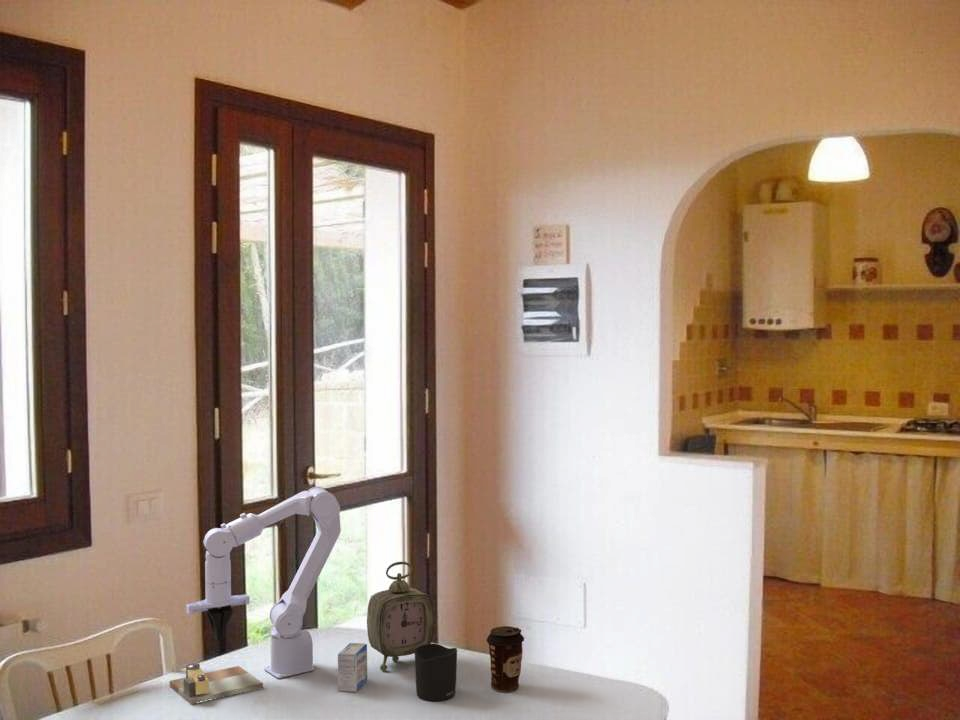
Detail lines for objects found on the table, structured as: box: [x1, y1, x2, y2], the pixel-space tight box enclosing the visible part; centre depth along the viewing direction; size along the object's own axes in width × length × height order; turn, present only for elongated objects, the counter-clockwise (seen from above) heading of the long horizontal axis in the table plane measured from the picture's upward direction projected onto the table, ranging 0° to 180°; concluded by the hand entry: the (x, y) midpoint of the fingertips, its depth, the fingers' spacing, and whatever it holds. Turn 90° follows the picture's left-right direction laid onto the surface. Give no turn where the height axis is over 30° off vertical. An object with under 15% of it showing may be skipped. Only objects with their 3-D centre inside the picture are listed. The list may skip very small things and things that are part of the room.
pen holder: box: [414, 643, 458, 702], centre depth 210 cm, size 9×9×10 cm
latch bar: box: [185, 662, 209, 695], centre depth 212 cm, size 12×3×4 cm, turn 28°
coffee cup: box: [486, 625, 525, 693], centre depth 214 cm, size 9×8×13 cm
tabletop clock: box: [366, 561, 435, 672], centre depth 230 cm, size 14×9×25 cm, turn 120°
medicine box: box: [337, 642, 368, 693], centre depth 216 cm, size 8×4×9 cm, turn 168°
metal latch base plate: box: [169, 665, 264, 705], centre depth 215 cm, size 16×14×4 cm
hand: (218, 639), depth 220 cm, fingers closed
